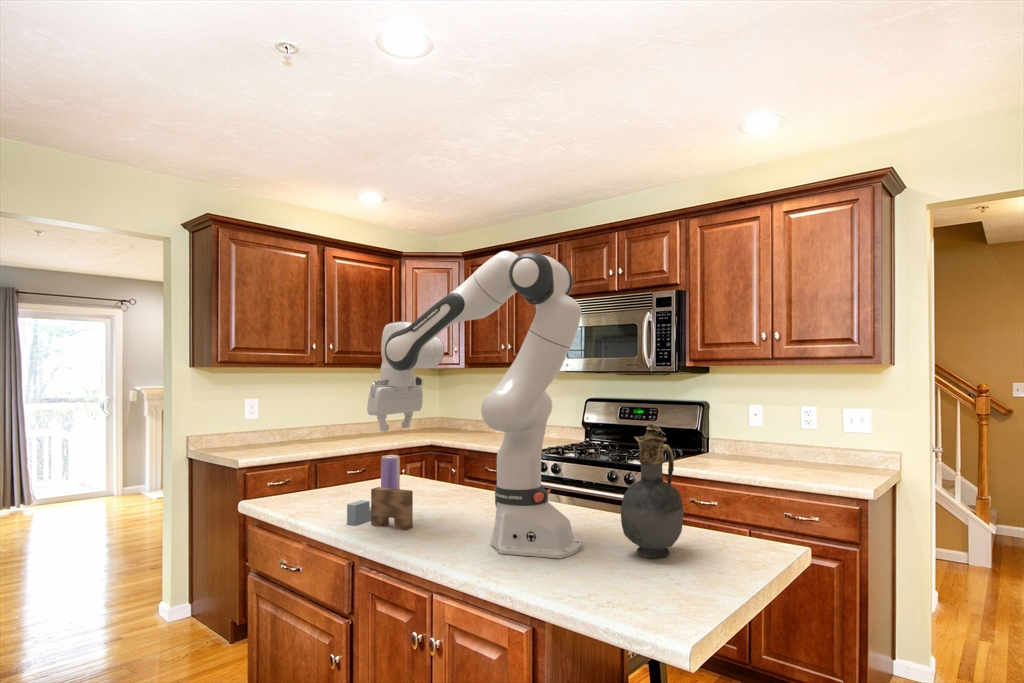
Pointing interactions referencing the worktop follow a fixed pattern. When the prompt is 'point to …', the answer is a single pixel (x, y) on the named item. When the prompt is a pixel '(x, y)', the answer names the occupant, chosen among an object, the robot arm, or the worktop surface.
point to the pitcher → (652, 500)
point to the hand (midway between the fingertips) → (395, 429)
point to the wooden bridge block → (392, 507)
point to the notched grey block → (358, 512)
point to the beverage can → (390, 471)
